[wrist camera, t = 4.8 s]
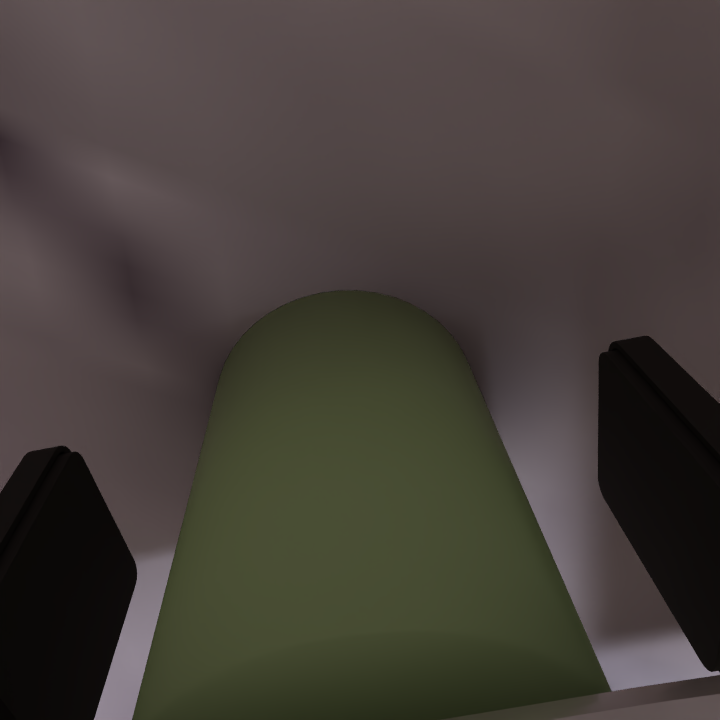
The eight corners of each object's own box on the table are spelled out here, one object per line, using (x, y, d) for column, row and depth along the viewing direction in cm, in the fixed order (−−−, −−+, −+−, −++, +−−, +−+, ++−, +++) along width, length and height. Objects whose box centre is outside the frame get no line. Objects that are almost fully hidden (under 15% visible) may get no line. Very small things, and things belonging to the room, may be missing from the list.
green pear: (181, 319, 11) (23, 691, 5) (460, 266, 11) (642, 583, 5) (254, 525, 14) (206, 945, 8) (483, 483, 13) (625, 877, 7)
